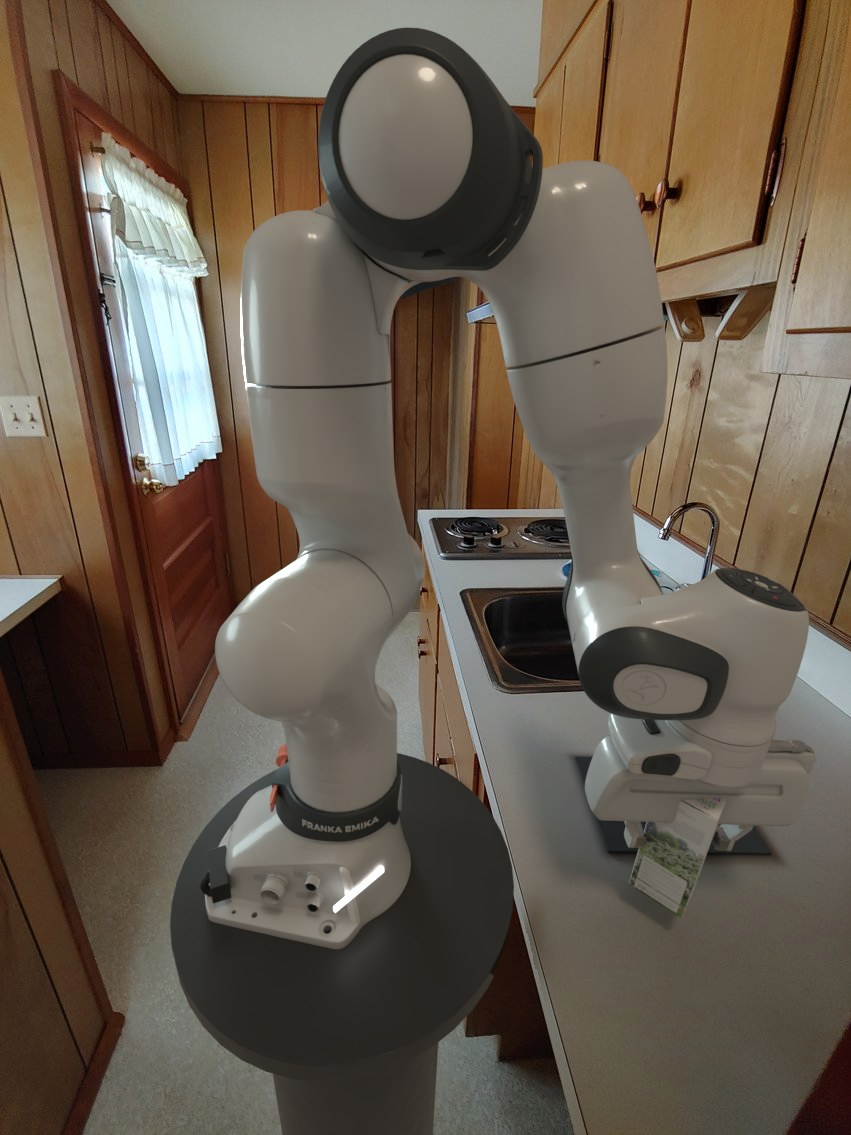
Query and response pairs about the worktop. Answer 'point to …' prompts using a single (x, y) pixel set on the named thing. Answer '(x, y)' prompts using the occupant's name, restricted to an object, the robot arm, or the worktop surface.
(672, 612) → the robot arm
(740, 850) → the mat
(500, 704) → the worktop surface
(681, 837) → the syrup box
